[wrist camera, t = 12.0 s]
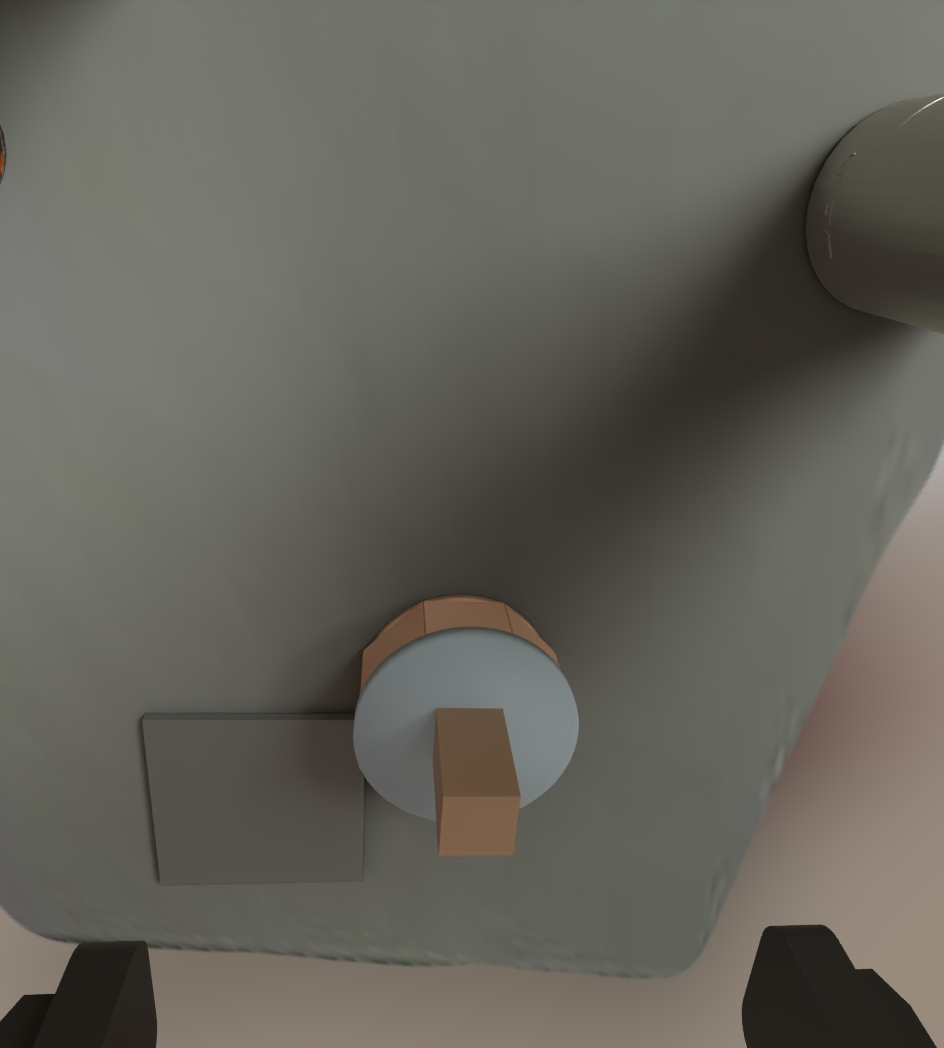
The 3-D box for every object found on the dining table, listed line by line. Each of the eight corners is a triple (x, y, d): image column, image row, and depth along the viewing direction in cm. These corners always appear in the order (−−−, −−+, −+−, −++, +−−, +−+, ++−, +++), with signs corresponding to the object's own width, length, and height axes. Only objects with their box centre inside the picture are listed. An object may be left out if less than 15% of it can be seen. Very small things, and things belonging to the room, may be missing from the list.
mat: (366, 713, 45) (365, 720, 44) (362, 873, 49) (362, 881, 49) (145, 713, 43) (141, 719, 43) (163, 877, 48) (160, 885, 47)
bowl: (558, 596, 43) (577, 644, 38) (539, 751, 47) (554, 813, 42) (364, 592, 42) (360, 642, 37) (361, 752, 46) (357, 815, 41)
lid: (588, 628, 38) (627, 718, 31) (560, 808, 42) (590, 920, 36) (356, 624, 37) (347, 716, 30) (352, 809, 41) (343, 925, 34)
